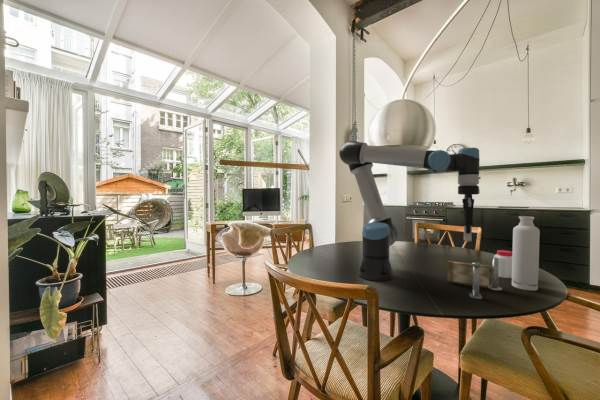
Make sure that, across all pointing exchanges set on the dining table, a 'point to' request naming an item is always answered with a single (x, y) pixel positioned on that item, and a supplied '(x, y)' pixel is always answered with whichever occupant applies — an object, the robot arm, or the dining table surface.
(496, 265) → the hinge post
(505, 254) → the pill bottle
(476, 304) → the dining table surface
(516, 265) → the bottle
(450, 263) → the gate
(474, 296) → the latch post
